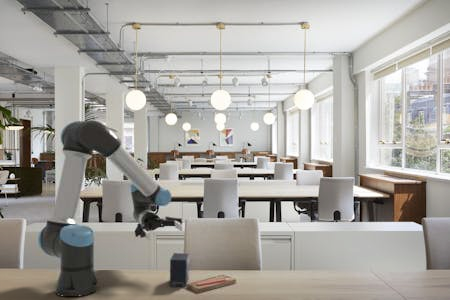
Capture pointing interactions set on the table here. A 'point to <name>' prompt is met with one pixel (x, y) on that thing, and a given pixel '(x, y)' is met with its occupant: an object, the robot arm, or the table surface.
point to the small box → (179, 270)
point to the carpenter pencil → (212, 282)
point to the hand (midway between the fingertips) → (165, 232)
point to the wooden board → (203, 288)
